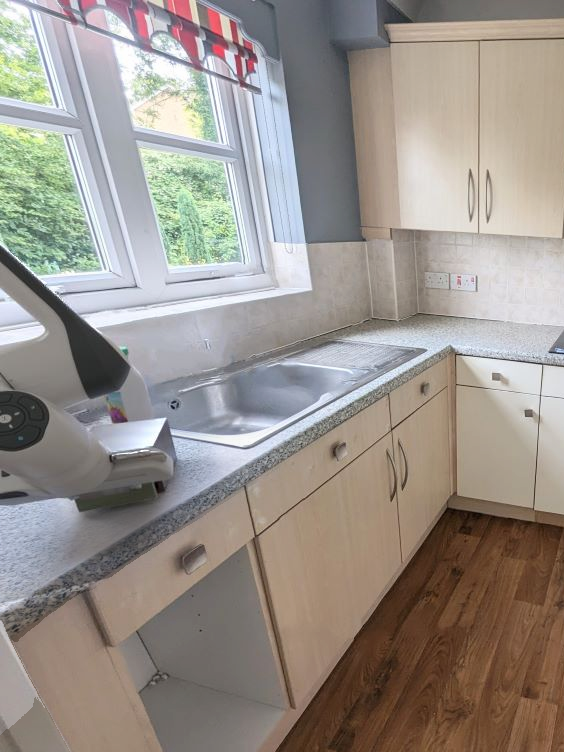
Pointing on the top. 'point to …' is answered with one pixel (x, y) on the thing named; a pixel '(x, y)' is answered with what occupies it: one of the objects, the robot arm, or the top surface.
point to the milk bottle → (130, 398)
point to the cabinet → (139, 439)
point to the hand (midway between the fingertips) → (107, 489)
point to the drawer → (115, 497)
